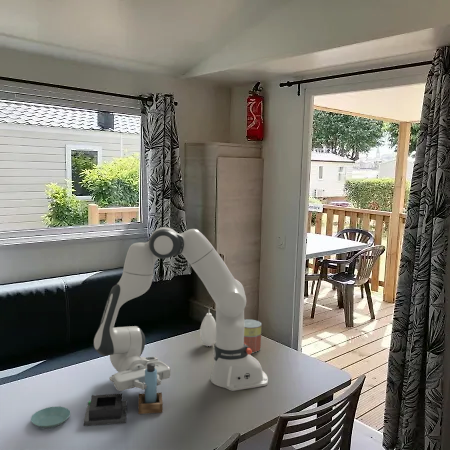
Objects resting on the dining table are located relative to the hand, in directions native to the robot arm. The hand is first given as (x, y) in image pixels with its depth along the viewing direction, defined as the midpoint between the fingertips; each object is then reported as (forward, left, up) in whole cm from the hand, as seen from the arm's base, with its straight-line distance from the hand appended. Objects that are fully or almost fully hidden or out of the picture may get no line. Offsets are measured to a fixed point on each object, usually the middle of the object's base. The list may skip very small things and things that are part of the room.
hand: (152, 385), depth 156 cm
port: (+15, +2, -8) cm, 17 cm away
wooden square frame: (0, -1, -8) cm, 8 cm away
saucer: (+32, +4, -9) cm, 33 cm away
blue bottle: (0, -1, -8) cm, 8 cm away
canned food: (-45, -48, -8) cm, 66 cm away
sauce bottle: (-27, -53, -8) cm, 60 cm away
